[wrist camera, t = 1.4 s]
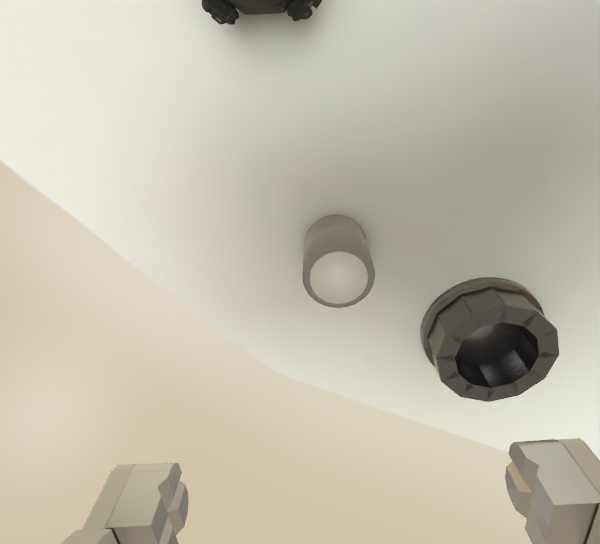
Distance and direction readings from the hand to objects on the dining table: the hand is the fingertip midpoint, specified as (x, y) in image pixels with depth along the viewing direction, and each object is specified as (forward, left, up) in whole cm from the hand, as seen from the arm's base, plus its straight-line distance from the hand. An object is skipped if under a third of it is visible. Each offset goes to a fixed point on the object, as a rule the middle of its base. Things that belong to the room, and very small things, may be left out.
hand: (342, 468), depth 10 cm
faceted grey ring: (-10, +16, -24) cm, 31 cm away
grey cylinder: (0, +4, -24) cm, 25 cm away
